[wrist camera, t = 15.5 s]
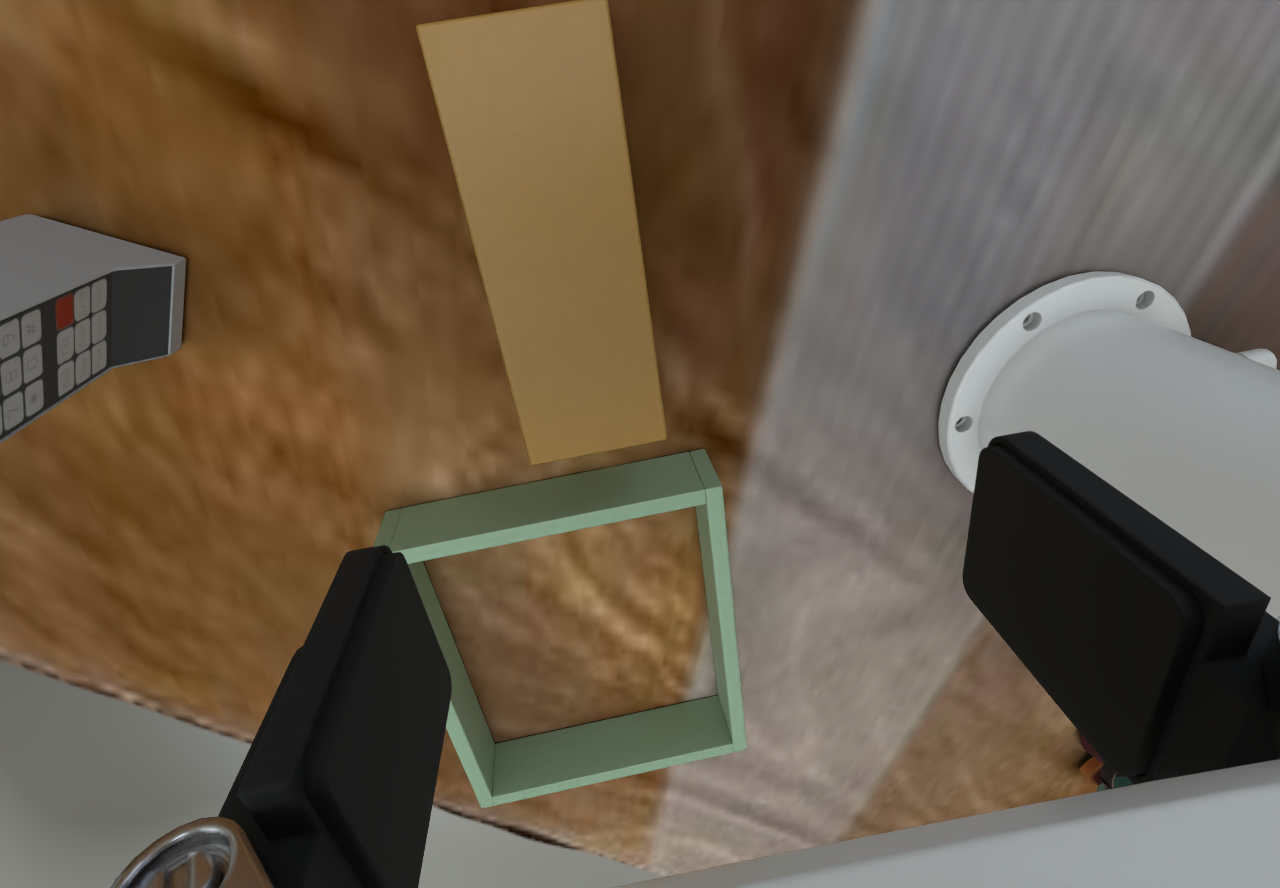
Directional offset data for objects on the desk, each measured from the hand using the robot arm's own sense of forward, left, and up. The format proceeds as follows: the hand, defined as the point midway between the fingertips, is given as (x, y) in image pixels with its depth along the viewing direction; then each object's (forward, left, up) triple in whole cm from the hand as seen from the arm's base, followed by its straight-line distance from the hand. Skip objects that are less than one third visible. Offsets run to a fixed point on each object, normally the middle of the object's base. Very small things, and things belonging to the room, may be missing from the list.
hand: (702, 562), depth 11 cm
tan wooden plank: (+1, -2, -19) cm, 19 cm away
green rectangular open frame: (+4, +19, -19) cm, 27 cm away
